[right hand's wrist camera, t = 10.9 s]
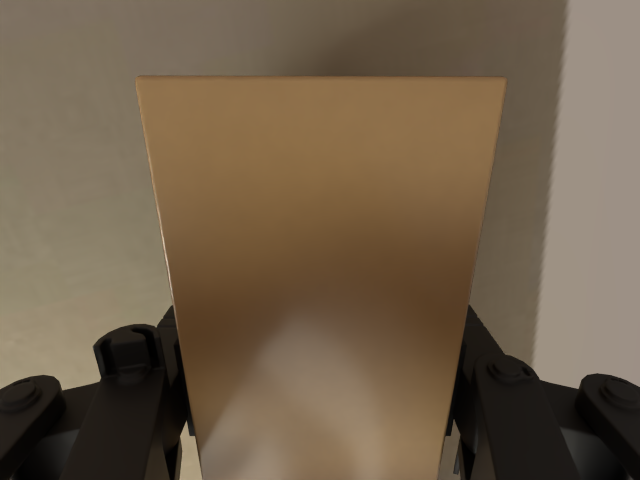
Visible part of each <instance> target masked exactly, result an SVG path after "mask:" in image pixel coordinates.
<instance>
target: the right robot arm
mask: <svg viewBox="0 0 640 480" xmlns="http://www.w3.org/2000/svg"><path fill="white" fill-rule="evenodd" d="M93 350H94V353H95V357H96V360H97V364H98V368H99V371H100V375H101V380H100V382H97V383H94V384H90V385H85V386H81V387H76V388H72V389H67V390H63V391H62V388H61V385H60V382H59V381H58V380H57V379H56V378H55V377H53V376H47V375H40V376H32V377H28V378H24V379H21V380H18V381H16V382H14V383H12V384H10V385H8V386H6V387H4V388H2V389H0V480H179V478H180V468H181V459H182V445H181V440H180V435H181V432H182V430H183V428H184V425H185V423H186V420H187V424H188V429H189V435H190V436H195V432H194V426H193V420H192V414H191V408H190V403H189V397H188V391H187V385H186V379H185V373H184V367H183V361H182V356H181V350H180V344H179V338H178V332H177V326H176V320H175V314H174V308H173V305H172V306H171V307H170V308H169V310H168V311H167V312H166V314H165V315H164V317H163V319H161V321H160V322H159V324H158V325H157V328H156V327H155V326H151V325H147V324H133V325H128V326H124V327H120V328H118V329H116V330H113V331H111V332H109V333H107V334H106V335H104V336H103V337H101V338H100V339H99V340H98V341H97V342H96V343H95V344H94V346H93ZM453 420H455V422H456V425H457V427H458V430H459V432H460V440H459V445H458V450H457V455H456V460H455V465H454V472H453V474H457V475H458V473H459V468H460V477H461V480H640V387H638V386H636V385H634V384H632V383H630V382H628V381H627V380H624V379H621V378H618V377H615V376H612V375H605V374H598V373H597V374H591V375H587V376H586V377H584V378H583V379H582V380H581V384H580V386H579V389H576V388H571V387H567V386H562V385H557V384H553V383H549V382H545V381H542V380H540V379H539V377H538V376H537V374H536V373H535V371H534V370H533V369H532V368H531V367H529V366H528V365H527V364H526V363H524V362H523V361H521V360H519V359H516V358H514V357H512V356H509V355H505V354H504V353H503V351H502V350H501V348H500V347H499V346H498V344H497V343H496V341H495V340H494V338H493V337H492V336H491V334H490V333H489V331H488V330H487V329H486V327H485V326H483V323H482V322H481V320H480V319H479V318H477V315H476V313H475V312H474V310H473V309H472V308H471V306H470V305H469V304H468V310H467V315H466V321H465V327H464V332H463V338H462V344H461V349H460V355H459V361H458V367H457V372H456V378H455V384H454V389H453V395H452V401H451V406H450V412H449V418H448V423H447V429H446V435H445V436H451V431H452V426H453Z"/></svg>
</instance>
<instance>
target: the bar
mask: <svg viewBox="0 0 640 480" xmlns="http://www.w3.org/2000/svg"><path fill="white" fill-rule="evenodd" d="M135 85H136V91H137V97H138V103H139V109H140V114H141V120H142V126H143V132H144V138H145V144H146V150H147V156H148V161H149V167H150V173H151V179H152V185H153V191H154V197H155V203H156V208H157V214H158V220H159V226H160V232H161V238H162V244H163V250H164V256H165V261H166V267H167V273H168V279H169V285H170V291H171V297H172V303H173V308H174V314H175V320H176V326H177V332H178V338H179V344H180V350H181V356H182V361H183V367H184V373H185V379H186V385H187V391H188V397H189V403H190V408H191V414H192V420H193V426H194V432H195V438H196V444H197V450H198V456H199V461H200V467H201V473H202V479H203V480H438V474H439V469H440V463H441V457H442V452H443V446H444V440H445V435H446V429H447V423H448V418H449V412H450V406H451V401H452V395H453V389H454V384H455V378H456V372H457V367H458V361H459V355H460V349H461V344H462V338H463V332H464V327H465V321H466V315H467V310H468V304H469V298H470V293H471V287H472V281H473V276H474V270H475V264H476V259H477V253H478V247H479V242H480V236H481V230H482V224H483V219H484V213H485V207H486V202H487V196H488V190H489V185H490V179H491V173H492V168H493V162H494V156H495V151H496V145H497V139H498V134H499V128H500V122H501V117H502V111H503V105H504V100H505V94H506V88H507V78H505V77H503V76H138V77H136V78H135Z"/></svg>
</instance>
